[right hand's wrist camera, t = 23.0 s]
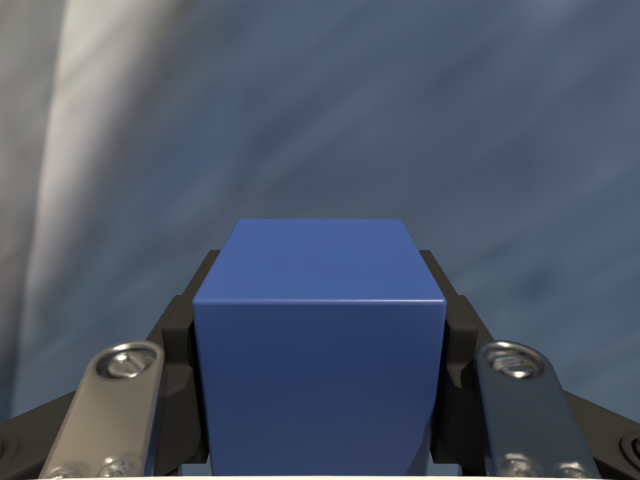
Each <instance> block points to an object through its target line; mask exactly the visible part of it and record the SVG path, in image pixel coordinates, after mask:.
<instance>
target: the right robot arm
mask: <svg viewBox="0 0 640 480" xmlns="http://www.w3.org/2000/svg"><path fill="white" fill-rule="evenodd" d="M220 251H221V250H210V251H209V253H208V254H207V256H206V257H205V259H204V261H203V262H202V264H201V265H200V267H199V269H198V270H197V272H196V273H195V275H194V276H193V278H192V280H191V281H190V283H189V284H188V286H187V288H186V289H185V291H184V292H183V294H182V295H176V296H175V297H174V298H173V299H172V301H171V302H170V304H169V305H168V307H167V308H166V310H165V311H164V313H163V314H162V316H161V317H160V319H159V320H158V322H157V323H156V325H155V326H154V328H153V329H152V331H151V332H150V334H149V335H148V337H147V338H146V340H133V341H128V342H123V343H119V344H117V345H114V346H111V347H109V348H107V349H105V350H103V351H102V352H100V353H99V354H98V355H96V356H95V357H94V358H93V359H92V360H91V362H90V363H89V364H88V366H87V368H86V371H85V373H84V375H83V377H82V380H81V382H80V384H79V387H78V389H77V390H75V391H73V392H71V393H68V394H66V395H64V396H62V397H59V398H57V399H55V400H53V401H50V402H48V403H46V404H44V405H41V406H39V407H37V408H35V409H32V410H30V411H28V412H26V413H23V414H21V415H19V416H17V417H14V418H12V419H10V420H8V421H5V422H3V423H1V424H0V480H640V424H639V423H637V422H634V421H632V420H630V419H628V418H625V417H623V416H621V415H619V414H616V413H614V412H612V411H610V410H607V409H605V408H603V407H601V406H598V405H596V404H594V403H592V402H589V401H587V400H585V399H583V398H580V397H578V396H576V395H574V394H571V393H569V392H567V391H565V390H563V389H562V387H561V384H560V382H559V380H558V377H557V375H556V373H555V371H554V368H553V366H552V364H551V363H550V362H549V360H548V359H547V358H546V357H545V356H544V355H542V354H541V353H540V352H538V351H537V350H535V349H533V348H531V347H529V346H526V345H523V344H521V343H517V342H512V341H507V340H494V339H493V337H492V336H491V334H490V333H489V331H488V330H487V328H486V327H485V325H484V324H483V322H482V321H481V319H480V318H479V316H478V315H477V313H476V312H475V310H474V308H473V307H472V305H471V304H470V302H469V301H468V299H467V298H466V297H465V296H464V295H458V294H457V293H456V291H455V289H454V288H453V286H452V285H451V283H450V282H449V280H448V278H447V277H446V275H445V274H444V272H443V270H442V269H441V267H440V266H439V264H438V262H437V261H436V259H435V258H434V256H433V255H432V253H431V251H430V250H418V251H419V253H420V254H421V256H422V258H423V260H424V261H425V263H426V265H427V267H428V269H429V270H430V272H431V274H432V276H433V277H434V279H435V281H436V283H437V285H438V286H439V288H440V290H441V292H442V293H443V295H444V297H445V299H446V301H447V308H446V316H445V325H444V333H443V341H442V350H441V358H440V366H439V375H438V383H437V392H436V400H435V408H434V417H433V425H432V434H431V442H430V452H431V456H432V459H433V462H434V464H459V466H458V474H457V475H458V477H438V476H202V477H182V475H183V474H182V466H181V464H206V462H207V458H208V455H209V445H208V436H207V428H206V419H205V411H204V402H203V394H202V385H201V377H200V368H199V360H198V351H197V342H196V334H195V325H194V317H193V308H192V301H193V298H194V296H195V295H196V293H197V291H198V289H199V288H200V286H201V284H202V282H203V281H204V279H205V277H206V275H207V274H208V272H209V270H210V268H211V267H212V265H213V263H214V261H215V260H216V258H217V256H218V254H219V253H220Z"/></svg>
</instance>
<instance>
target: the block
mask: <svg viewBox="0 0 640 480" xmlns="http://www.w3.org/2000/svg"><path fill="white" fill-rule="evenodd" d="M192 308H193V317H194V325H195V334H196V342H197V351H198V360H199V368H200V377H201V385H202V394H203V402H204V411H205V419H206V428H207V436H208V445H209V453H210V462H211V470H212V476H426V475H427V467H428V459H429V450H430V442H431V434H432V425H433V417H434V408H435V400H436V392H437V383H438V375H439V366H440V358H441V350H442V341H443V333H444V325H445V316H446V308H447V301H446V299H445V297H444V295H443V293H442V292H441V290H440V288H439V286H438V285H437V283H436V281H435V279H434V277H433V276H432V274H431V272H430V270H429V269H428V267H427V265H426V263H425V261H424V260H423V258H422V256H421V254H420V253H419V251H418V249H417V247H416V245H415V244H414V242H413V240H412V238H411V237H410V235H409V233H408V231H407V229H406V228H405V226H404V224H403V222H402V221H401V220H400V219H239V220H238V221H237V223H236V225H235V226H234V228H233V230H232V232H231V233H230V235H229V237H228V239H227V240H226V242H225V244H224V246H223V247H222V249H221V251H220V253H219V254H218V256H217V258H216V260H215V261H214V263H213V265H212V267H211V268H210V270H209V272H208V274H207V275H206V277H205V279H204V281H203V282H202V284H201V286H200V288H199V289H198V291H197V293H196V295H195V296H194V298H193V301H192Z"/></svg>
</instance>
